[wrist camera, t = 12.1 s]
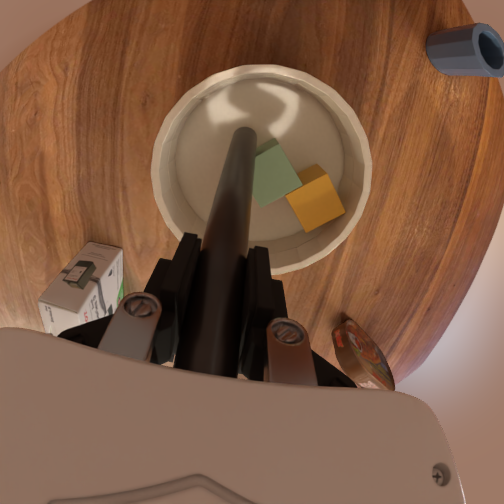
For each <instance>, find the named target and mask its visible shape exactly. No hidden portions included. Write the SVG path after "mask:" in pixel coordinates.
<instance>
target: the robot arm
mask: <svg viewBox="0 0 504 504" xmlns="http://www.w3.org/2000/svg"><path fill="white" fill-rule="evenodd" d="M197 237H198V234H193V233H188V232H184V235H183V237H182V239H181V241H180V243H179V246H178V248H177V250H176V252H175V255H174V257H173V259H172V260H168V259H163V258H160V259H159V261H158V263H157V265H156V267H155V269H154V271H153V273H152V275H151V277H150V279H149V281H148V283H147V285H146V287H145V289H144V291H143V292H134V293H131V294H128V295H126V296H125V297H123V299H122V300H121V301H120V303H119V305H118V307H117V309H116V311H115V313H114V314H111V315H108V316H105V317H102V318H99V319H96V320H93V321H90V322H87V323H84V324H81V325H78V326H75V327H72V328H69V329H66V330H64V331H62V332H61V333H60V334H59V335H58V336H57V337H56V336H53V334H52V333H43V332H39V331H35V330H31V329H24V328H15V327H3V328H0V504H466V502H465V497H464V493H463V490H462V486H461V482H460V478H459V474H458V471H457V468H456V464H455V461H454V458H453V455H452V452H451V449H450V447H449V444H448V441H447V439H446V436H445V434H444V431H443V429H442V427H441V425H440V423H439V421H438V419H437V417H436V415H435V414H434V412H433V411H432V409H431V408H430V407H429V406H428V405H427V404H426V403H425V402H423V401H422V400H420V399H418V398H416V397H414V396H411V395H408V394H405V393H401V392H397V391H392V390H384V389H374V388H365V387H361V388H357V386H356V384H355V383H354V381H352V380H351V379H350V378H349V377H348V376H346V375H345V374H344V373H342V372H341V371H340V370H338V369H337V368H335V367H334V366H333V365H331V364H330V363H329V362H327V361H326V360H325V359H323V358H322V357H321V356H319V355H318V354H317V353H315V352H314V351H313V350H311V347H310V342H309V337H308V333H307V331H306V329H305V328H304V327H303V326H302V325H301V324H300V323H298V322H297V321H294V320H292V319H289V318H288V315H287V308H286V302H285V296H284V289H283V283H282V281H280V280H274V279H272V277H271V268H270V260H269V251H268V248H266V247H261V246H256V245H255V247H254V249H253V248H249V251H248V255H247V259H246V270H245V282H244V294H243V306H242V318H241V330H240V351H239V364H238V374H243V375H244V376H245V377H247V378H248V380H245V379H237V378H230V377H223V376H216V375H210V374H204V373H199V372H193V371H188V370H182V369H177V368H172V367H168V366H163V365H161V364H163V363H165V362H168V361H169V362H173V359H174V355H176V351H177V346H178V341H179V337H180V334H181V331H182V326H183V321H184V317H185V313H186V308H187V304H188V299H189V295H190V291H191V287H192V282H193V278H194V274H195V270H196V266H197V262H198V258H199V254H200V249H201V243H202V239H201V238H197Z"/></svg>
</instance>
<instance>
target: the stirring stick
mask: <svg viewBox="0 0 504 504" xmlns="http://www.w3.org/2000/svg"><path fill="white" fill-rule="evenodd" d="M256 146H257V134H256V132H255V131H254V130H253V129H251V128H249V127H240V128H238V129H237V130H236V131H235V132H234V134H233V137H232V140H231V143H230V146H229V149H228V153H227V156H226V159H225V163H224V166H223V169H222V173H221V176H220V179H219V183H218V186H217V190H216V193H215V197H214V200H213V204H212V207H211V211H210V215H209V218H208V222H207V226H206V229H205V233H204V237H203V241H202V244H201V249H200V254H199V258H198V262H197V266H196V270H195V274H194V278H193V282H192V287H191V291H190V295H189V299H188V304H187V308H186V313H185V317H184V321H183V326H182V331H181V334H180V337H179V341H178V346H177V351H176V356H175V360H174V365H173V368H177V369H182V370H188V371H193V372H199V373H204V374H210V375H216V376H223V377H230V378H237V377H238V364H239V351H240V330H241V318H242V306H243V294H244V282H245V270H246V259H247V252H248V240H249V228H250V216H251V204H252V193H253V181H254V169H255V158H256Z"/></svg>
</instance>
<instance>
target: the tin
mask: <svg viewBox="0 0 504 504" xmlns="http://www.w3.org/2000/svg"><path fill="white" fill-rule="evenodd" d="M332 339H333V344H334V348H335V354H336V358H337V360H338V362H339V364H340V366H341V368H342V369H343V371H344V372H345V374H346V375H347V376H348V377H349V378H350V379H351V380H352V381H354V383H356V384H357V385H358V386H360V387H365V388H374V389H384V390H392V391H395V383H394V379H393V375H392V372H391V370H390V367H389V365H388V363H387V361H386V359H385V357H384V355H383V353H382V352H381V350H380V349H379V348H378V346H377V345H376V344H375V343H374V342H373V341H372V340H371V339H370V338H369V337H368V336H367V335H366V334H365V332H364V331H363V330H362V329H361V328H360V327H359V326H358V325H357V324H356V323H355V322H354V321H352V320H350V319H348V320H347V321H346V322H344V323H343V324H341V325H339V326H338V327H336V328H335V329H334V330H333V331H332Z"/></svg>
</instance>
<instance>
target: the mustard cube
mask: <svg viewBox="0 0 504 504" xmlns="http://www.w3.org/2000/svg"><path fill="white" fill-rule="evenodd" d="M297 175H298V177H299V179H300V180H301V182H302V184H303V185H302V186H300V187H298V188H297V189H295V190H293V191H291V192H289V193H287V194H286V195H285V196H286V198H287V200H288V202H289V204H290V205H291V207H292V209H293V211H294V212H295V214H296V216H297V218H298V220H299V221H300V223H301V225H302V227H303V229H304V231H305V232H306V233H307V232H309V231H311V230H313V229H315V228H317V227H319V226H321V225H323V224H325V223H327V222H328V221H330V220H332V219H334V218H336V217H338V216H340V215H342V214H344V213H346V212H345V210H344V207H343V205H342V203H341V201H340V199H339V196H338V194H337V192H336V190H335V188H334V186H333V184H332V182H331V180H330V178H329V175H328V174H327V173H326V172H325V171H324V170H323V169H322V168H321V167H320V166H319V165H318V164H315V165H313V166H311V167H309V168H307V169H305V170H303V171H301V172H299V173H297Z"/></svg>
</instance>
